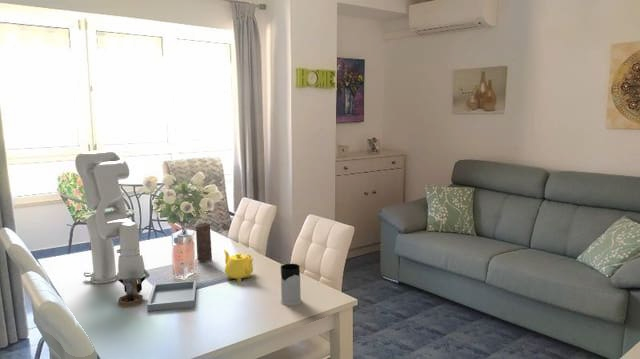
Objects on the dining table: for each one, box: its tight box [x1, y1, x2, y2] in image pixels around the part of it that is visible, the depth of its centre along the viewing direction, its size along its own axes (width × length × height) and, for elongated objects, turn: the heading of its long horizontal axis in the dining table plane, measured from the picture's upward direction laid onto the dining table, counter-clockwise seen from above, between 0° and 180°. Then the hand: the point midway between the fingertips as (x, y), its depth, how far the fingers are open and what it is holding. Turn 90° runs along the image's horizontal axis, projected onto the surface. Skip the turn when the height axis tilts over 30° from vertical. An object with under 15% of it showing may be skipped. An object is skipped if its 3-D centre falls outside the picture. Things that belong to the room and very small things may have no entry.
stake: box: [124, 278, 136, 302], centre depth 196 cm, size 5×5×10 cm
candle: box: [195, 222, 213, 262], centre depth 246 cm, size 8×7×20 cm
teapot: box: [223, 249, 255, 282], centre depth 224 cm, size 20×15×12 cm
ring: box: [117, 278, 144, 309], centre depth 200 cm, size 9×15×7 cm, turn 12°
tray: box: [146, 279, 197, 313], centre depth 201 cm, size 18×22×3 cm
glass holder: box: [280, 263, 303, 307], centre depth 198 cm, size 9×14×15 cm, turn 28°
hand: (133, 292), depth 205 cm, fingers open, 4 cm apart
